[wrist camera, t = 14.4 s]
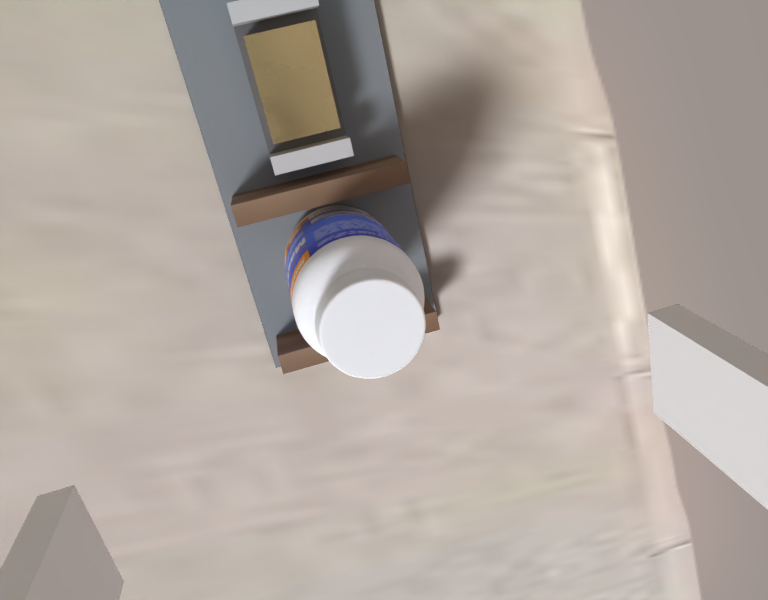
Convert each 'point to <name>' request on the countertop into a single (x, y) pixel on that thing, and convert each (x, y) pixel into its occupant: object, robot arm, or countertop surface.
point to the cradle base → (249, 16)
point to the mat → (249, 149)
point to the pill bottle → (354, 292)
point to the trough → (311, 195)
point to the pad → (293, 81)
